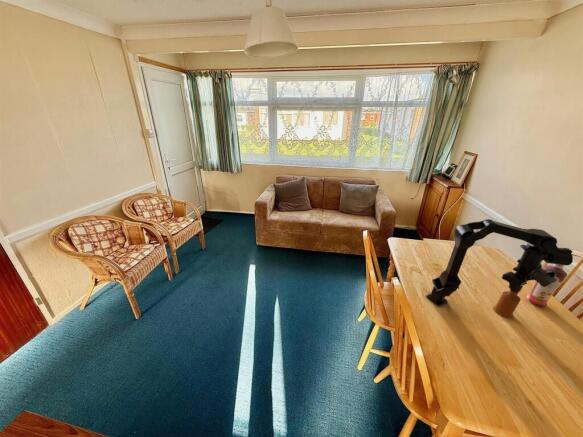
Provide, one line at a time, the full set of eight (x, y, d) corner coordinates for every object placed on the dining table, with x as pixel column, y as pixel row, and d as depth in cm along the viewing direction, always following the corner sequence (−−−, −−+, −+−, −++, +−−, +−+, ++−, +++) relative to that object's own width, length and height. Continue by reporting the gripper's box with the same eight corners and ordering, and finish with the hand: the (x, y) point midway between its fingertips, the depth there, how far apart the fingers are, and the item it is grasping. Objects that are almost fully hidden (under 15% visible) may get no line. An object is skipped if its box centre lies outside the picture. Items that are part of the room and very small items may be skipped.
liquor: (545, 302, 109) (577, 253, 96) (546, 311, 104) (580, 261, 92) (525, 294, 113) (552, 246, 101) (524, 302, 108) (554, 253, 96)
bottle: (506, 319, 100) (519, 297, 94) (491, 309, 105) (502, 288, 99) (514, 314, 102) (526, 293, 97) (498, 305, 107) (509, 284, 102)
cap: (511, 290, 97) (513, 286, 96) (506, 284, 101) (508, 280, 100) (522, 292, 96) (524, 288, 95) (517, 286, 100) (519, 282, 98)
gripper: (546, 278, 81) (526, 310, 88) (569, 265, 88) (550, 295, 95) (508, 261, 91) (493, 291, 97) (533, 250, 98) (517, 279, 104)
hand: (514, 289), depth 98 cm, fingers closed on cap, 4 cm apart
